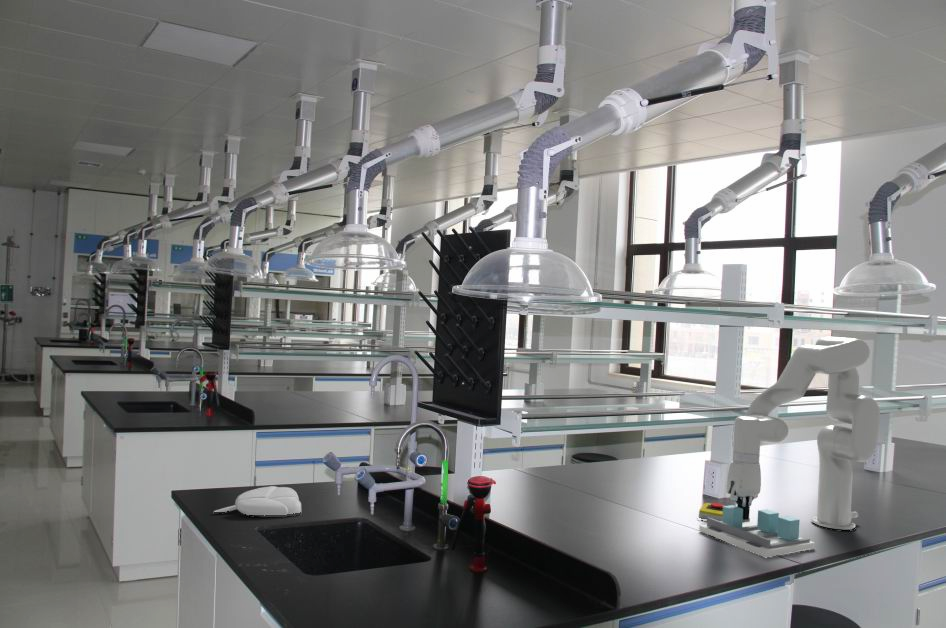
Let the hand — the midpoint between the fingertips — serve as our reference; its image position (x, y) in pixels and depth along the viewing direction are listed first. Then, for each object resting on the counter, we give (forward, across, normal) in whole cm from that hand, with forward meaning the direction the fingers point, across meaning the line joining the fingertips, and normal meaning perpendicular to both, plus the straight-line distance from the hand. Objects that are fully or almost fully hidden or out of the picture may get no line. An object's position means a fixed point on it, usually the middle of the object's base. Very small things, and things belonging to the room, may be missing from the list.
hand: (742, 518), depth 217 cm
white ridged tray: (+4, +3, +7) cm, 9 cm away
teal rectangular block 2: (+2, -2, +14) cm, 14 cm away
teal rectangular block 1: (+2, +5, 0) cm, 5 cm away
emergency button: (+5, -5, -15) cm, 17 cm away
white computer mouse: (+5, +129, -68) cm, 146 cm away
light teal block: (+2, -2, +7) cm, 8 cm away
